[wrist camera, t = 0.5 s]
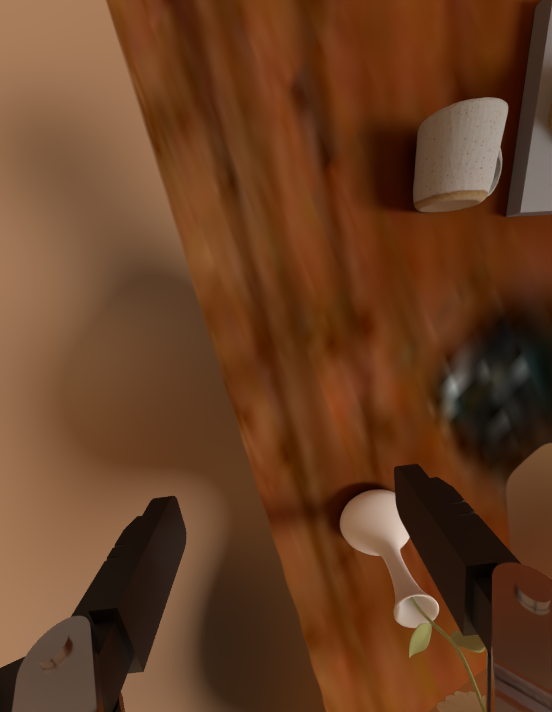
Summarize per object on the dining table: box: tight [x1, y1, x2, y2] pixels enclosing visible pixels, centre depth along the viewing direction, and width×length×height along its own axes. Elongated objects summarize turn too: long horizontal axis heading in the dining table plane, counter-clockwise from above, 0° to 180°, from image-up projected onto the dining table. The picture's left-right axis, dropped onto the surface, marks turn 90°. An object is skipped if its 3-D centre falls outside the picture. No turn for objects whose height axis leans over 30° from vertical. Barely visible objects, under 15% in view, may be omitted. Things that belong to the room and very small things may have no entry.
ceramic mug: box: [413, 97, 508, 212], centre depth 29 cm, size 11×8×8 cm
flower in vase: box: [340, 489, 486, 712], centre depth 32 cm, size 13×11×25 cm
